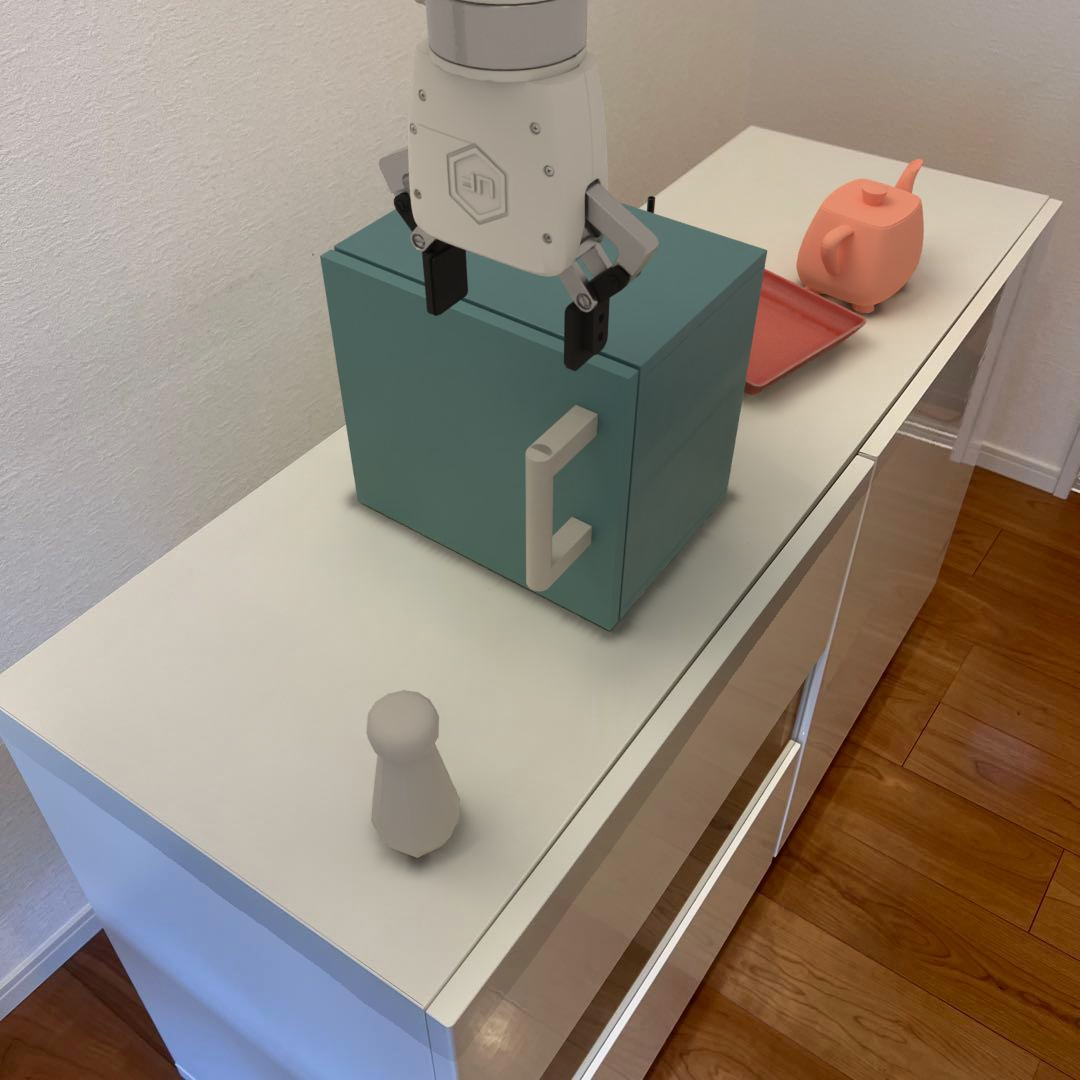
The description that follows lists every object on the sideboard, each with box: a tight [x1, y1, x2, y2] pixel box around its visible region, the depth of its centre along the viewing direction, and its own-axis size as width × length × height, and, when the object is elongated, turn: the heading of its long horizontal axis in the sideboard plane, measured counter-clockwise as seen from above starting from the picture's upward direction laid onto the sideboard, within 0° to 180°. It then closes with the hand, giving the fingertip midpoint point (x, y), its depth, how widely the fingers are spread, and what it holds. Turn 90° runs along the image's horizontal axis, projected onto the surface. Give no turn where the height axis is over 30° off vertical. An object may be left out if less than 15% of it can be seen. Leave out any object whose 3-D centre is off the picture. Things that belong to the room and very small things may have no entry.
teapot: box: [795, 158, 925, 314], centre depth 118 cm, size 20×12×12 cm, turn 140°
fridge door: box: [319, 249, 639, 632], centre depth 80 cm, size 8×26×24 cm, turn 55°
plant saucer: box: [744, 268, 867, 396], centre depth 112 cm, size 18×18×3 cm
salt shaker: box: [366, 689, 461, 859], centre depth 67 cm, size 6×6×13 cm
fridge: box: [333, 202, 768, 622], centre depth 88 cm, size 18×26×24 cm
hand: (514, 330), depth 62 cm, fingers open, 9 cm apart
